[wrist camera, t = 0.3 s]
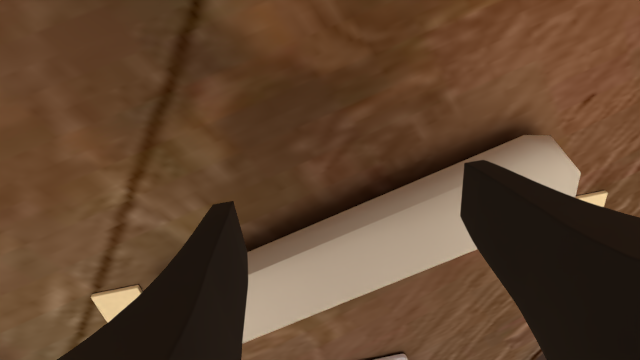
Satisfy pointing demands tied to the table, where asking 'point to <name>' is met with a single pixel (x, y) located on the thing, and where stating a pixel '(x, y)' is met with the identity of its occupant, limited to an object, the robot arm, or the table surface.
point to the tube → (383, 239)
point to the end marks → (121, 298)
